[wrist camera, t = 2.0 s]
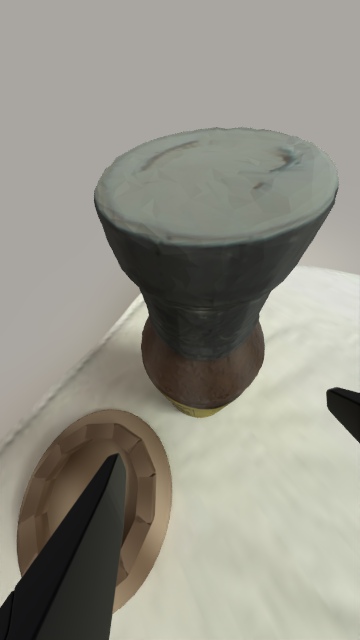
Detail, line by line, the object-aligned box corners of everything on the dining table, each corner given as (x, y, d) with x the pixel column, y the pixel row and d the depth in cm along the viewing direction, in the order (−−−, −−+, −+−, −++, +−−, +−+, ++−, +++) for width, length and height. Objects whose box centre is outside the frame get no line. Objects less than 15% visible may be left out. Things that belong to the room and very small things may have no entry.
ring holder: (105, 685, 11) (89, 730, 10) (-9, 530, 15) (-34, 542, 14) (197, 456, 17) (197, 459, 15) (95, 388, 21) (86, 384, 19)
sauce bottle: (164, 369, 21) (40, 138, 5) (214, 353, 22) (264, 92, 5) (180, 430, 18) (-74, 394, 1) (238, 410, 19) (622, 184, 2)
